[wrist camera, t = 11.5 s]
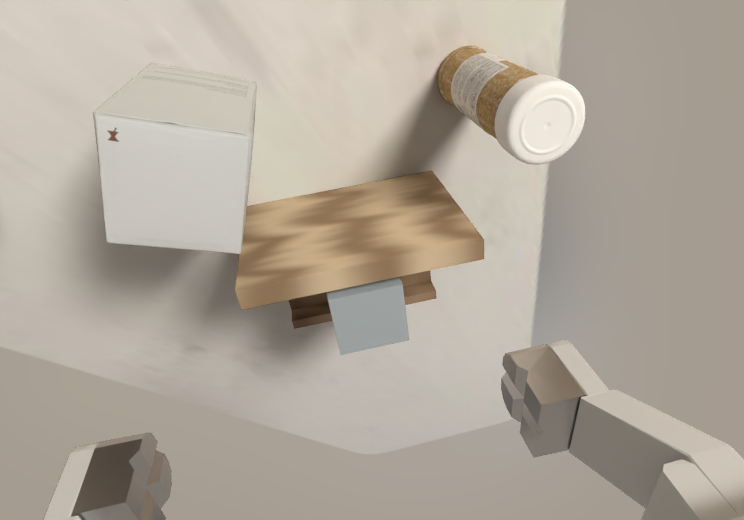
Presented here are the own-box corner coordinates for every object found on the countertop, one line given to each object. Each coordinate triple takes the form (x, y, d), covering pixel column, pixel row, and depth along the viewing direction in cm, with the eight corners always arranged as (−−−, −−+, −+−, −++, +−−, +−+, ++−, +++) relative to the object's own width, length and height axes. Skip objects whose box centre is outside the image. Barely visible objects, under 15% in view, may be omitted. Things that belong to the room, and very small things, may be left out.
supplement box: (151, 162, 35) (99, 245, 25) (150, 59, 32) (87, 106, 21) (251, 176, 37) (241, 258, 27) (260, 80, 34) (253, 133, 23)
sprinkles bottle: (502, 77, 37) (602, 127, 25) (456, 118, 38) (533, 183, 26) (471, 30, 34) (565, 61, 23) (423, 74, 35) (491, 125, 24)
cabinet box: (333, 305, 39) (343, 364, 34) (319, 246, 36) (327, 300, 30) (390, 293, 40) (410, 349, 34) (382, 233, 36) (402, 284, 31)
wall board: (270, 287, 43) (269, 384, 33) (245, 206, 39) (234, 291, 29) (437, 253, 44) (483, 336, 34) (431, 170, 40) (484, 239, 30)
